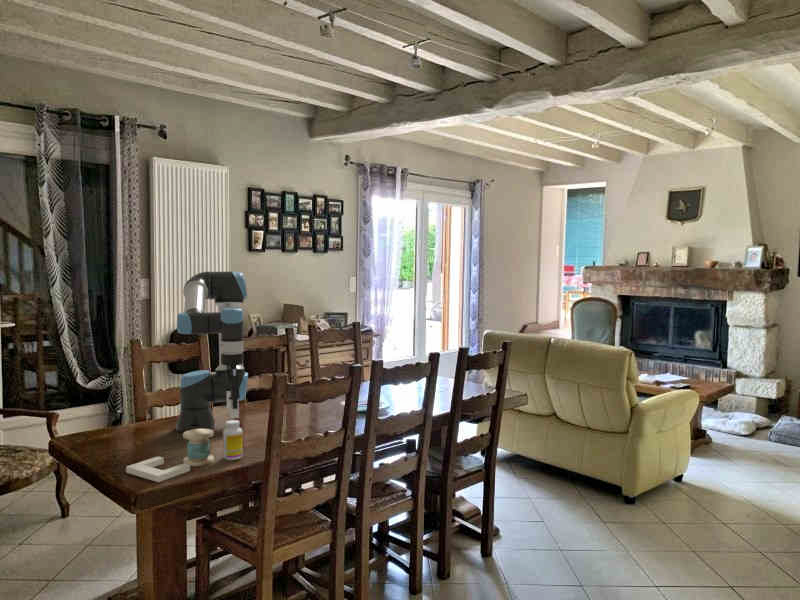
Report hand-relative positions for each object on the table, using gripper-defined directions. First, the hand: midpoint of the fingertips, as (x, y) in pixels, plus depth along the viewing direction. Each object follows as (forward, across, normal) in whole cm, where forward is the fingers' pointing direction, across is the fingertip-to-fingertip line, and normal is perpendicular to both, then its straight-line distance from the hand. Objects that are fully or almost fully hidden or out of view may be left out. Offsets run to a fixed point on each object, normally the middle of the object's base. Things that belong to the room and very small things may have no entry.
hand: (232, 413), depth 208 cm
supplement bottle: (+16, 0, 0) cm, 16 cm away
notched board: (+16, +6, -24) cm, 30 cm away
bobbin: (+16, 0, -11) cm, 19 cm away
